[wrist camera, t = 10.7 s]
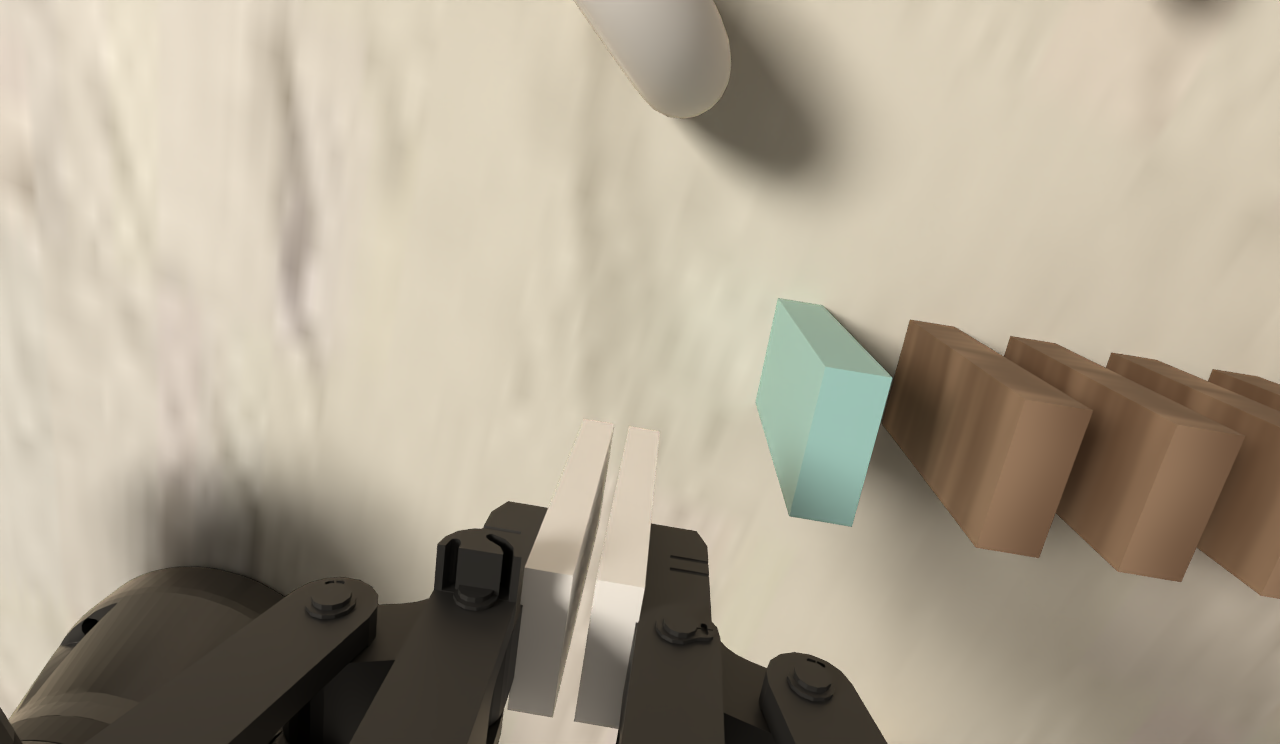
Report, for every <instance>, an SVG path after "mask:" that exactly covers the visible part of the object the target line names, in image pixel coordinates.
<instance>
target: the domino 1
mask: <svg viewBox="0 0 1280 744" xmlns="http://www.w3.org/2000/svg"><path fill="white" fill-rule="evenodd" d="M1092 412H1093V410H1091V409H1090V408H1088V407H1086V406H1085V405H1083V404H1081V403H1080V402H1078V401H1076V400H1075V399H1073V398H1071V397H1070V396H1068V395H1066V394H1065V393H1063V392H1061V391H1060V390H1058V389H1057V388H1055V387H1053V386H1052V385H1050V384H1048V383H1047V382H1045V381H1043V380H1042V379H1040V378H1038V377H1037V376H1035V375H1033V374H1032V373H1030V372H1028V371H1027V370H1025V369H1023V368H1022V367H1020V366H1018V365H1017V364H1015V363H1013V362H1012V361H1010V360H1009V359H1007V358H1005V357H1004V356H1002V355H1000V354H999V353H997V352H995V351H994V350H992V349H990V348H989V347H987V346H985V345H984V344H982V343H980V342H979V341H977V340H975V339H974V338H972V337H970V336H969V335H967V334H965V333H964V332H962V331H961V330H959V329H957V328H956V327H952V326H946V325H940V324H934V323H927V322H921V321H915V320H910V322H909V325H908V329H907V333H906V336H905V340H904V343H903V347H902V351H901V354H900V358H899V362H898V365H897V369H896V373H895V376H894V380H893V384H892V387H891V391H890V395H889V398H888V402H887V406H886V409H885V413H884V416H883V420H882V425H883V426H884V427H885V428H886V430H887V431H888V432H889V434H890V435H891V436H892V438H893V439H894V440H895V442H896V443H897V444H898V446H899V447H900V448H901V450H902V451H903V452H904V453H905V455H906V456H907V457H908V459H909V460H910V461H911V463H912V464H913V465H914V467H915V468H916V469H917V471H918V472H919V473H920V475H921V476H922V477H923V478H924V480H925V481H926V482H927V484H928V485H929V486H930V488H931V489H932V490H933V492H934V493H935V494H936V496H937V497H938V498H939V500H940V501H941V502H942V504H943V505H944V506H945V507H946V509H947V510H948V511H949V513H950V514H951V515H952V517H953V518H954V519H955V521H956V522H957V523H958V525H959V526H960V527H961V529H962V530H963V531H964V532H965V534H966V535H967V536H968V538H969V539H970V540H971V542H972V543H973V544H974V546H975V547H976V548H982V549H988V550H994V551H1000V552H1006V553H1012V554H1018V555H1024V556H1030V557H1036V558H1039V556H1040V554H1041V551H1042V548H1043V546H1044V543H1045V540H1046V537H1047V535H1048V532H1049V529H1050V527H1051V524H1052V521H1053V518H1054V516H1055V513H1056V510H1057V507H1058V505H1059V502H1060V499H1061V497H1062V494H1063V491H1064V488H1065V486H1066V483H1067V480H1068V478H1069V475H1070V472H1071V469H1072V467H1073V464H1074V461H1075V458H1076V456H1077V453H1078V450H1079V448H1080V445H1081V442H1082V439H1083V437H1084V434H1085V431H1086V429H1087V426H1088V423H1089V420H1090V418H1091V415H1092Z"/></svg>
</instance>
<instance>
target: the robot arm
mask: <svg viewBox="0 0 1280 744" xmlns="http://www.w3.org/2000/svg"><path fill="white" fill-rule="evenodd" d="M613 430H614V424H613V423H607V422H601V421H595V420H589V419H583V422H582V424H581V427H580V429H579V432H578V434H577V437H576V439H575V442H574V445H573V447H572V450H571V452H570V455H569V457H568V460H567V462H566V465H565V467H564V470H563V472H562V475H561V477H560V480H559V482H558V485H557V487H556V490H555V492H554V495H553V497H552V500H551V502H550V505H549V507H548V508H545V507H539V506H533V505H527V504H521V503H515V502H510V501H508V502H506V503H505V504H503V505H502V506H500V507H498V508H497V509H495V510H494V511H492V512H491V514H490V516H489V517H488V519H487V521H486V523H485V525H484V528H482V529H468V530H461V531H457V532H455V533H452V534H450V535H448V536H446V537H445V538H443V539H442V540H441V541H440V542H439V543H438V544H437V557H436V570H435V583H434V591H433V592H432V594H431V596H430V598H429V599H426V600H422V601H418V602H413V603H404V604H385V605H378V595H377V593H376V592H375V590H374V589H373V587H372V586H370V585H368V584H366V583H364V582H362V581H361V580H356V579H351V578H345V577H340V578H325V579H321V580H317V581H313V582H310V583H307V584H306V585H304V586H302V587H300V588H298V589H296V590H294V591H293V592H291V593H290V594H289V595H287V596H286V597H284V596H282V595H280V594H279V593H277V592H276V591H274V590H272V589H270V588H268V587H267V586H265V585H263V584H260V583H258V582H256V581H254V580H251V579H249V578H246V577H243V576H241V575H238V574H234V573H231V572H227V571H222V570H218V569H212V568H204V567H173V568H166V569H161V570H156V571H153V572H149V573H146V574H144V575H141V576H139V577H136V578H134V579H132V580H130V581H129V582H127V583H125V584H124V585H122V586H121V587H120V588H118V589H117V590H116V591H114V592H113V593H112V594H110V595H109V596H108V597H106V598H105V599H104V600H102V601H101V602H100V603H98V604H97V605H96V606H94V607H93V608H92V609H90V610H89V611H88V612H87V613H86V614H85V615H84V616H83V617H82V618H81V619H80V620H79V621H78V622H77V623H76V624H75V625H74V626H73V627H72V628H71V630H70V631H69V633H68V634H67V635H66V637H65V638H64V640H63V641H62V643H61V645H60V646H59V648H58V649H57V650H56V652H55V653H54V654H53V656H52V657H51V659H50V660H49V661H48V663H47V664H46V666H45V667H44V669H43V670H42V672H41V673H40V675H39V676H38V677H37V679H36V680H35V682H34V683H33V685H32V686H31V688H30V689H29V691H28V692H27V694H26V695H25V696H24V698H23V699H22V701H21V702H20V704H19V705H18V707H17V708H16V710H15V711H14V712H13V714H12V715H11V717H10V718H9V720H8V719H7V717H6V716H5V714H4V713H3V711H2V709H1V708H0V744H498V742H499V739H500V735H501V728H502V720H503V711H504V707H505V704H506V701H507V698H508V695H509V701H508V710H513V711H518V712H524V713H530V714H536V715H541V716H547V717H553V714H554V709H555V705H556V701H557V697H558V693H559V689H560V684H561V680H562V676H563V672H564V668H565V664H566V659H567V655H568V651H569V647H570V643H571V638H572V634H573V630H574V626H575V622H576V618H577V613H578V609H579V605H580V601H581V597H582V593H583V588H584V584H585V580H586V576H587V572H588V567H589V563H590V559H591V555H592V551H593V547H594V542H595V538H596V534H597V530H598V526H599V521H600V515H601V508H602V502H603V495H604V488H605V482H606V475H607V469H608V462H609V456H610V449H611V443H612V436H613ZM659 434H660V431H655V430H649V429H643V428H637V427H631V426H629V429H628V433H627V438H626V443H625V447H624V452H623V457H622V461H621V466H620V471H619V475H618V480H617V485H616V489H615V494H614V499H613V503H612V508H611V513H610V518H609V522H608V527H607V532H606V536H605V541H604V546H603V550H602V555H601V560H600V564H599V569H598V574H597V578H596V584H595V591H594V597H593V603H592V610H591V616H590V623H589V629H588V635H587V642H586V648H585V655H584V661H583V667H582V674H581V680H580V687H579V693H578V700H577V706H576V712H575V719H574V721H576V722H582V723H587V724H593V725H599V726H605V727H610V728H616V729H619V730H618V735H617V741H616V744H887V742H886V740H885V739H884V737H883V735H882V734H881V732H880V730H879V729H878V727H877V725H876V724H875V722H874V720H873V719H872V717H871V715H870V714H869V712H868V710H867V708H866V707H865V705H864V703H863V702H862V700H861V698H860V697H859V695H858V693H857V692H856V690H855V688H854V687H853V685H852V683H851V682H850V681H849V680H848V679H847V678H846V676H845V675H844V674H843V673H842V672H841V671H840V670H839V669H837V668H836V667H834V666H833V665H831V664H830V663H829V662H827V661H825V660H822V659H820V658H817V657H815V656H812V655H809V654H802V653H796V652H793V653H785V654H780V655H778V656H777V657H775V658H773V659H772V660H770V663H769V665H768V667H767V668H765V667H763V666H760V665H758V664H755V663H753V662H750V661H748V660H746V659H744V658H742V657H740V656H738V655H736V654H735V653H733V652H732V651H731V650H729V649H728V648H726V647H725V645H724V644H723V643H722V642H721V641H720V636H719V632H718V629H717V627H716V626H715V625H714V624H713V623H712V620H711V603H710V585H709V577H708V576H709V568H708V551H707V545H706V544H705V542H704V541H703V540H702V538H701V537H700V535H699V534H698V533H697V531H692V530H686V529H680V528H674V527H668V526H662V525H656V524H651V518H652V507H653V497H654V486H655V476H656V465H657V455H658V444H659ZM509 692H510V693H509Z"/></svg>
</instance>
